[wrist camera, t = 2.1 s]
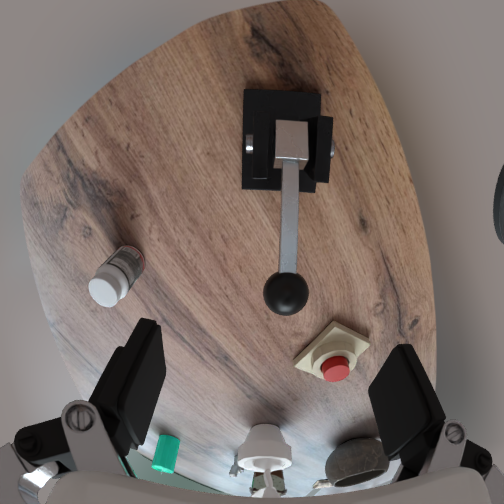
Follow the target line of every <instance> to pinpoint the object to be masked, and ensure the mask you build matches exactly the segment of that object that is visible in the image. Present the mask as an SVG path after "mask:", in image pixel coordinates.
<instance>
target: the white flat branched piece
mask: <svg viewBox="0 0 504 504" xmlns="http://www.w3.org/2000/svg"><path fill="white" fill-rule="evenodd" d="M237 460H238V456H235V459H234V465H232V467H231V470H230V472H229V475H230V477H236V476H237V473H239V474H240V473H241V472H244V468H242V467H240V466H238V462H237Z"/></svg>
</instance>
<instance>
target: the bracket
mask: <svg viewBox="0 0 504 504" xmlns="http://www.w3.org/2000/svg"><path fill="white" fill-rule="evenodd" d="M320 110H321V94H316V93H307V92H296V91H282V90H261V89H244V100H243V143H242V189H245V190H272V191H281V168H273V145H274V127H275V120H289V121H302V122H308V136H309V160H308V162H307V164H306V165H305V167H304V169H303V170H299V192H308V193H315V189H316V182H321V183H329V173H330V161H331V158H333V155H334V150H335V145H334V141H333V140H332V131H333V117H327V116H320Z"/></svg>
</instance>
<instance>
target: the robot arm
mask: <svg viewBox="0 0 504 504" xmlns="http://www.w3.org/2000/svg"><path fill="white" fill-rule="evenodd" d="M165 376H166V365H165V357H164V350H163V342H162V333H161V326H160V325H157V323H156V321H155V320H150V319H146V318H140V320H139V321H138V323H137V325H136V327H135V329H134V330H133V332H132V334H131V336H130V338H129V340H128V341H127V343H126V345H125V347H122V346H119V347H117V348H116V350H115V351H114V353H113V355H112V357H111V359H110V360H109V362H108V364H107V366H106V368H105V370H104V372H103V374H102V375H101V377H100V379H99V381H98V383H97V385H96V387H95V389H94V391H93V393H92V395H91V397H90V399H89V401H88V402H87V401H84V400H75V401H73V402H70V403H69V404H67V405H66V406H65V407H64V409H63V411H62V414H61V417H59V418H55V419H52V420H49V421H45V422H42V423H38V424H35V425H31V426H27V427H24V428H22V429H20V430H19V431H18V432H17V434H16V435H15V439H14V443H12V444H10V443H7V444H6V445H4V446H2V447H1V448H0V504H40V503H39V501H38V497H37V495H38V491H39V490H40V489H41V488H42V487H43V486H44V485H46V484H45V482H46V481H48V480H49V479H51V478H53V479H56V478H60V479H59V480H58V481H57V482H56V484H55V486H54V487H53V489H52V491H51V493H50V495H49V497H48V499H47V502H46V504H504V474H503V473H502V472H501V471H500V470H499V469H498V468H497V466H496V465H495V464H493V465H492V457H491V454H490V453H489V452H488V451H487V450H486V449H484V448H482V447H480V446H478V445H477V444H475V443H473V442H471V441H469V440H468V439H467V432H466V428H465V427H464V425H463V424H462V423H461V422H459V421H457V420H449V421H447V422H446V423H445V422H444V420H445V419H446V416H445V414H444V411H443V409H442V407H441V404H440V402H439V400H438V398H437V395H436V393H435V391H434V389H433V387H432V384H431V382H430V380H429V378H428V376H427V374H426V372H425V370H424V368H423V366H422V364H421V362H420V360H419V358H418V356H417V354H416V352H415V350H414V348H413V346H412V345H411V344H398V345H397V346H396V347H395V348H393V350H392V351H391V353H390V355H389V356H388V358H387V360H386V361H385V363H384V365H383V366H382V368H381V369H380V371H379V373H378V374H377V376H376V377H375V379H374V380H373V382H372V383H371V385H370V386H369V389H368V394H369V397H370V401H371V404H372V408H373V411H374V415H375V419H376V423H377V426H378V430H379V434H380V438H381V442H382V446H383V450H384V454H385V455H386V456H388V461H393V460H397V459H401V464H400V466H399V468H398V470H397V472H396V474H395V476H394V477H393V479H392V481H391V483H390V484H388V485H384V486H380V487H375V488H370V489H365V490H359V491H354V492H347V493H340V494H333V495H323V496H312V497H294V498H260V497H241V496H229V495H220V494H212V493H205V492H199V491H192V490H187V489H181V488H177V487H171V486H167V485H163V484H159V483H154V482H150V481H146V480H141V479H138V477H137V476H136V474H135V472H134V470H133V469H132V467H131V465H130V463H129V461H128V459H127V457H126V456H127V455H128V453H129V450H130V448H132V449H135V450H137V449H138V446H139V445H143V444H144V441H145V438H146V435H147V432H148V428H149V425H150V422H151V419H152V416H153V413H154V410H155V406H156V403H157V400H158V397H159V394H160V391H161V388H162V385H163V382H164V379H165Z"/></svg>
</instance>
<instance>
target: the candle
mask: <svg viewBox="0 0 504 504" xmlns="http://www.w3.org/2000/svg"><path fill="white" fill-rule="evenodd" d="M179 445H180V441H179V440H178V439H177V438H175V437H173V436H169V435H160V436H159V440H158V443H157V447H156V451H155V455H154V458H153V462H152V466H151V467H152V468H153V469H155V470H158V471H161V472H167V473H173V472H174V468H175V463H176V458H177V454H178V449H179Z"/></svg>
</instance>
